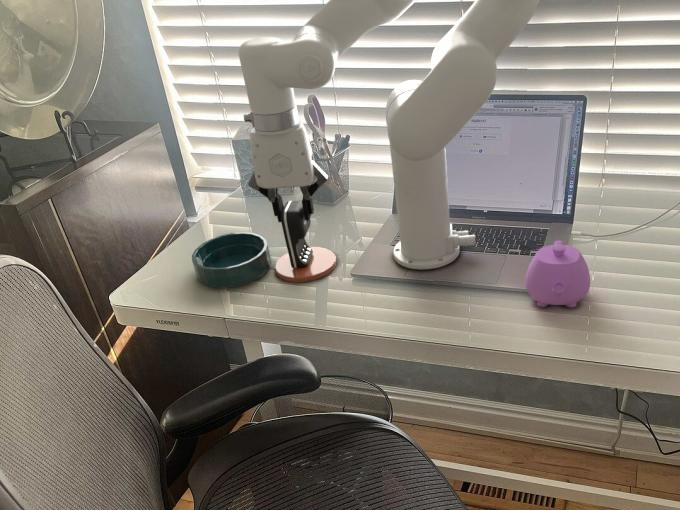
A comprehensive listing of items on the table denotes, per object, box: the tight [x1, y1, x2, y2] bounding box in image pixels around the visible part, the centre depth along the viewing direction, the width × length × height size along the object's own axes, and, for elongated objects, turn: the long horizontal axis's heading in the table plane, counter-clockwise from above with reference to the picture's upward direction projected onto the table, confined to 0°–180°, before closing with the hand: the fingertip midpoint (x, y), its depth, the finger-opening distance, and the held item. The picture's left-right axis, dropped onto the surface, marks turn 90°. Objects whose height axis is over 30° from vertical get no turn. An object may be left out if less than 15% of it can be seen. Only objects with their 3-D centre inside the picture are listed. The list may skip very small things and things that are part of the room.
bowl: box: [191, 231, 273, 288], centre depth 131 cm, size 14×14×4 cm
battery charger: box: [280, 200, 313, 268], centre depth 128 cm, size 7×4×11 cm, turn 174°
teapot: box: [524, 240, 591, 308], centre depth 111 cm, size 10×15×9 cm
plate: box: [274, 246, 337, 283], centre depth 131 cm, size 12×12×1 cm
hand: (295, 217), depth 125 cm, fingers open, 4 cm apart
